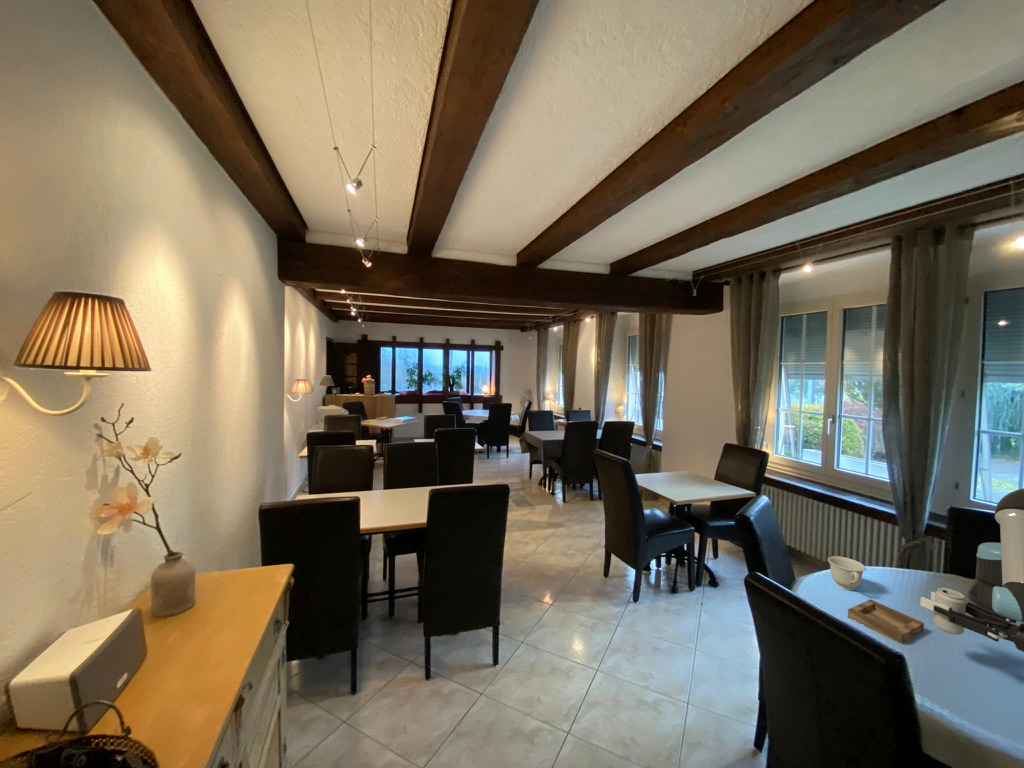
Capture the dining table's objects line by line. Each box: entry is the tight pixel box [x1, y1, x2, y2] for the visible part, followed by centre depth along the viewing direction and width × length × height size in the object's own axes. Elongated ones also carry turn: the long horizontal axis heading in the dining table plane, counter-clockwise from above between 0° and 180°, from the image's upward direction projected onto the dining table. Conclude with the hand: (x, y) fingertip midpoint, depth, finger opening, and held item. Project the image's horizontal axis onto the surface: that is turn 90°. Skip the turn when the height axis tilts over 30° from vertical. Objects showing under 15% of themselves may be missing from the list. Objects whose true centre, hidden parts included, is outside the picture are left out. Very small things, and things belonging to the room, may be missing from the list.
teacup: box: [827, 555, 867, 591], centre depth 162 cm, size 12×15×10 cm
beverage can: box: [933, 587, 967, 636], centre depth 124 cm, size 6×6×12 cm
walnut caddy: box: [847, 599, 925, 645], centre depth 140 cm, size 15×15×3 cm
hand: (926, 598), depth 129 cm, fingers closed on beverage can, 6 cm apart
